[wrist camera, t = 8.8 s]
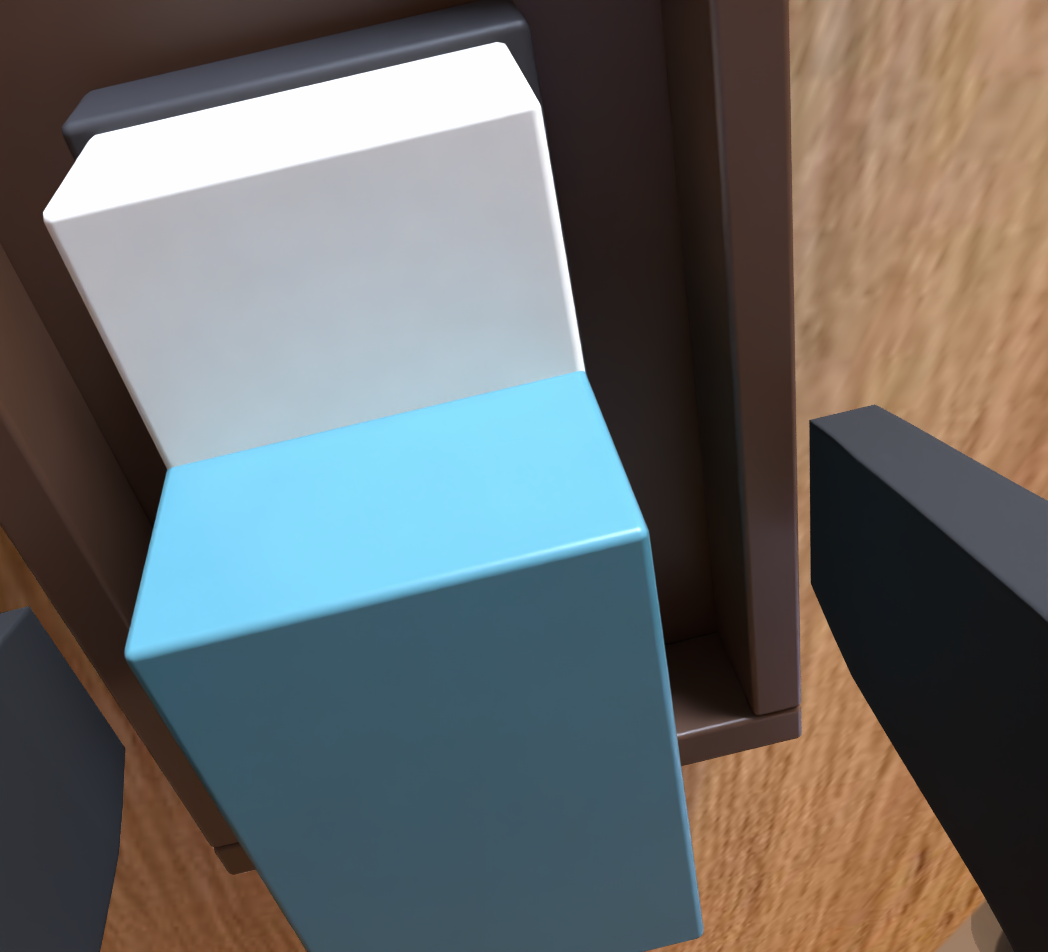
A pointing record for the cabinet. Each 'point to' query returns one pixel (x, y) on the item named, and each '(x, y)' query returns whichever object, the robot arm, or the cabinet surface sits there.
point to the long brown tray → (601, 300)
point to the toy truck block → (385, 493)
